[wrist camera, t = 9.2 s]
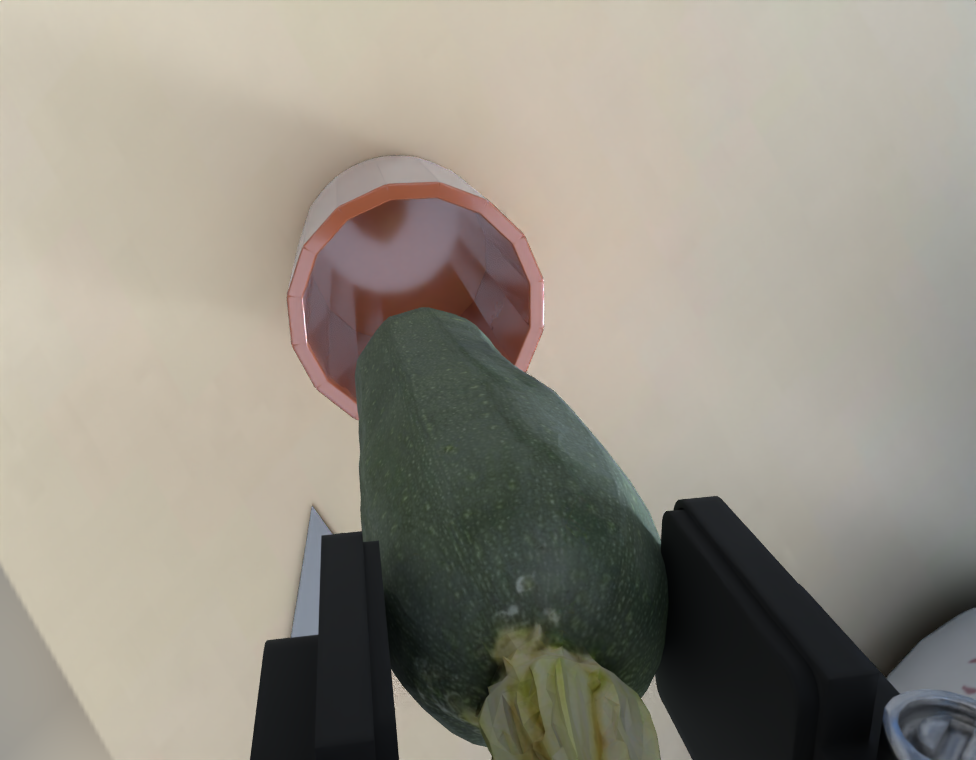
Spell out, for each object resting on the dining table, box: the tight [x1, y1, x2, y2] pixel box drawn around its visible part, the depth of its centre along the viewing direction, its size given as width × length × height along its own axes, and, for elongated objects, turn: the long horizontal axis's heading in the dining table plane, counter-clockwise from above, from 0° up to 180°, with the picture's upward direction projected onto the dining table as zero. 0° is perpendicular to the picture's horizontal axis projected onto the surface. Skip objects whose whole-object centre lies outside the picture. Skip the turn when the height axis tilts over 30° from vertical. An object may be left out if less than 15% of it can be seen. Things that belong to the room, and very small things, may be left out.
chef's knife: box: [291, 506, 332, 638], centre depth 43 cm, size 19×1×3 cm
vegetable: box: [355, 307, 669, 760], centre depth 16 cm, size 4×4×20 cm
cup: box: [287, 155, 544, 420], centre depth 33 cm, size 8×8×10 cm
